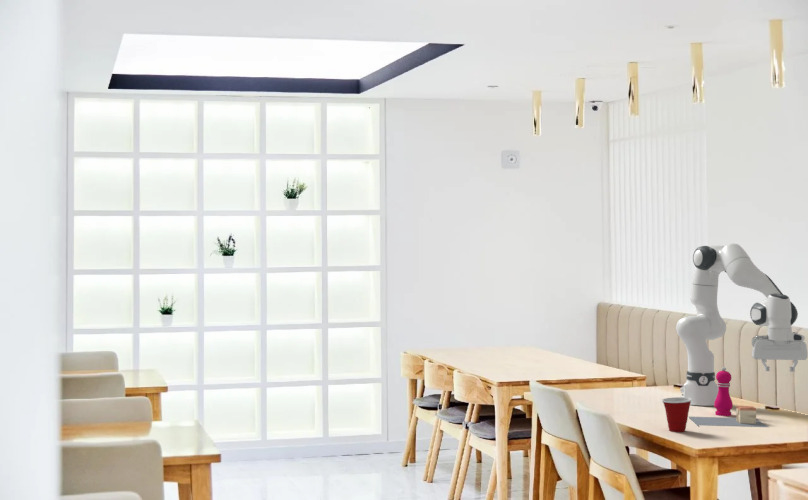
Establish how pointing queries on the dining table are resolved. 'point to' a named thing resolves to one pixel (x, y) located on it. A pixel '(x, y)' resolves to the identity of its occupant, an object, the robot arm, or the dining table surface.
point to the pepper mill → (723, 394)
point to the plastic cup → (677, 412)
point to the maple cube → (746, 414)
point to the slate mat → (723, 422)
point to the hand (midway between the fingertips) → (779, 371)
